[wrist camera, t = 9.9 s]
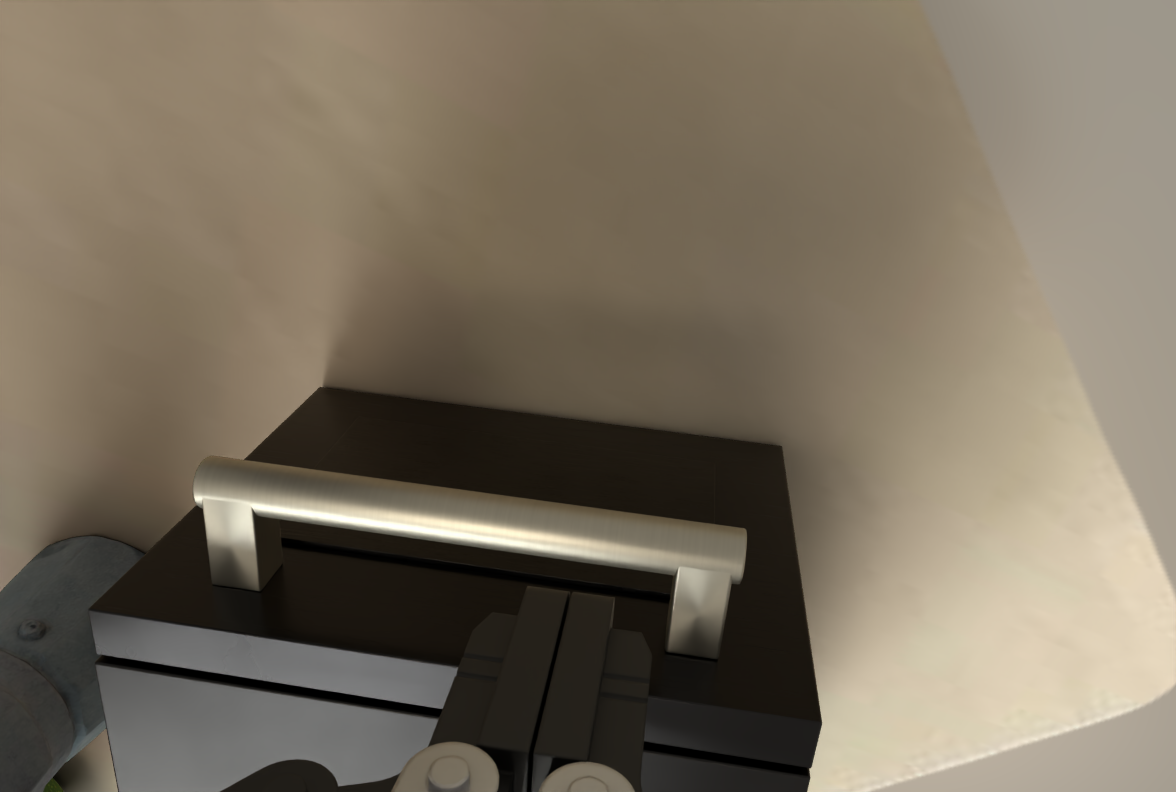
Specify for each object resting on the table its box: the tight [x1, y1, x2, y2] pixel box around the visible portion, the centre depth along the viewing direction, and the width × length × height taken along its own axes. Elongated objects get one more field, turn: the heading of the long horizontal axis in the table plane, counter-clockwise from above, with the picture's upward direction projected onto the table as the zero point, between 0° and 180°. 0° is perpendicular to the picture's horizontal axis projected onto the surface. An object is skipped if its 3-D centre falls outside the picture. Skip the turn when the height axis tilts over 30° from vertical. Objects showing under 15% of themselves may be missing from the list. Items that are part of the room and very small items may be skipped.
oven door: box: [88, 387, 822, 768], centre depth 30 cm, size 5×20×16 cm, turn 86°
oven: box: [94, 655, 810, 792], centre depth 35 cm, size 16×20×16 cm
